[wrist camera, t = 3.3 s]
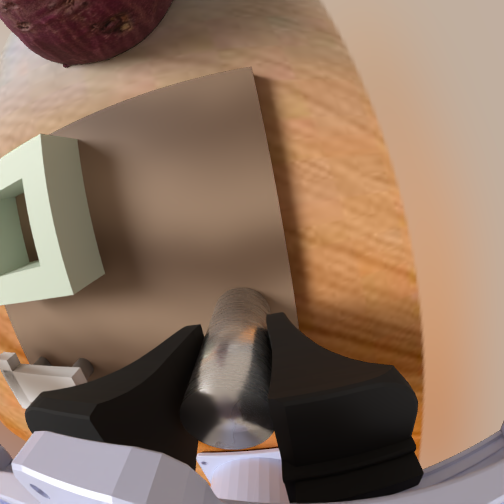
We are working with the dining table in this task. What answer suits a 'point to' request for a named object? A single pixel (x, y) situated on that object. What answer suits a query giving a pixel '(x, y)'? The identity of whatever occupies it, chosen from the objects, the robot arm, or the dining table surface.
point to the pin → (232, 375)
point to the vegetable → (81, 26)
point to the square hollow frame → (46, 222)
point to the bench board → (159, 231)
